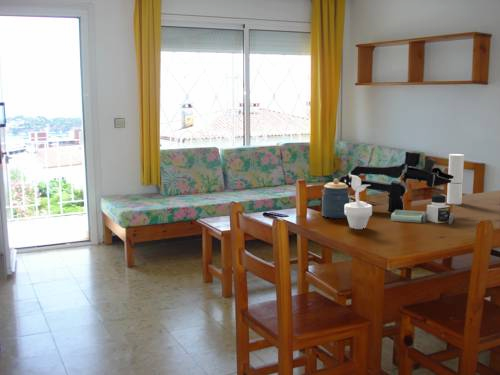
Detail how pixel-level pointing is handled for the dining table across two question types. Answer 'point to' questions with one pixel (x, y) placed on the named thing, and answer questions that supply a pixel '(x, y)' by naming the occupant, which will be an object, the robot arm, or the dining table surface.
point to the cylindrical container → (455, 179)
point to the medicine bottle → (438, 209)
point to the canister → (335, 199)
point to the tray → (407, 216)
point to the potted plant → (357, 206)
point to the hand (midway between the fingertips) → (452, 179)
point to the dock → (449, 217)
